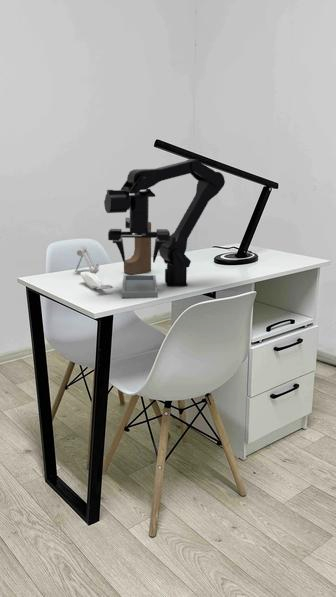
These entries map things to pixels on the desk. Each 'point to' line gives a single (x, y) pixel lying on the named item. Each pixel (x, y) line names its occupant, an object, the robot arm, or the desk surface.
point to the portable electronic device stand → (81, 253)
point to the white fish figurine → (93, 281)
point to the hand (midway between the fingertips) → (139, 262)
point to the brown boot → (140, 256)
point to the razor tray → (139, 286)
